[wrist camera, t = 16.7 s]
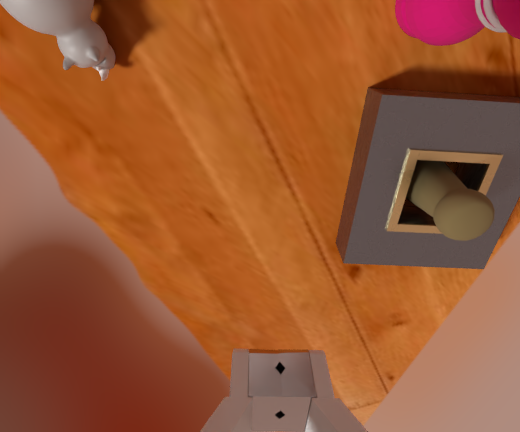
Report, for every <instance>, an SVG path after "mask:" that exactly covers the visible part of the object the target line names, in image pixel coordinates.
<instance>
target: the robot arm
mask: <svg viewBox="0 0 520 432" xmlns="http://www.w3.org/2000/svg"><path fill="white" fill-rule="evenodd" d="M264 431H265V432H267V431H283V432H368V431H367V430H366V429H365V428H364V427H363V425H362V424H361V423H360V422H359V421H358V420H357V419H356V417H355V416H354V415H353V414H352V413H351V412H350V410H349V409H348V408H347V407H346V406H345V405H344V403H343V402H342V401H341V400H340V399H339V398H334V393H333V388H332V384H331V379H330V375H329V370H328V365H327V361H326V356H325V353H324V351H323V350H260V349H233V354H232V369H231V383H230V397H225V398H224V399H223V401H222V402H221V403H220V405H219V406H218V407H217V409H216V410H215V412H214V413H213V414H212V416H211V417H210V419H209V420H208V421H207V423H206V424H205V426H204V427H203V429H202V430H201V431H200V432H264Z"/></svg>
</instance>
